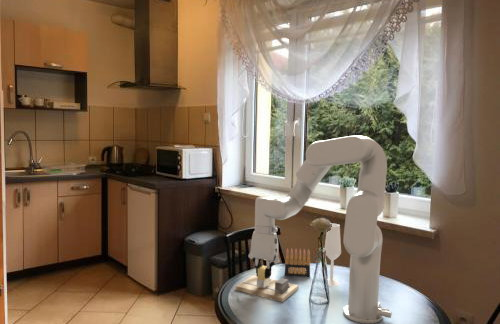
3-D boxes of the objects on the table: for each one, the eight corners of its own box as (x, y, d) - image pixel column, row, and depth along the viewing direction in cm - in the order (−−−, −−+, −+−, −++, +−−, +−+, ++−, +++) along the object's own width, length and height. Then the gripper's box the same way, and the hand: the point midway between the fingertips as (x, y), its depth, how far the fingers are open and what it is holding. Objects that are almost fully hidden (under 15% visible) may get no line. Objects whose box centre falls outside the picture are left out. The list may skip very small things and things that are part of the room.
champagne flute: (336, 279, 164) (338, 222, 162) (342, 286, 157) (344, 226, 155) (320, 280, 163) (322, 223, 161) (326, 286, 156) (328, 227, 154)
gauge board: (298, 288, 153) (298, 275, 153) (282, 301, 141) (283, 286, 140) (253, 278, 163) (253, 265, 162) (235, 289, 151) (235, 275, 150)
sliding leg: (273, 281, 155) (274, 264, 154) (263, 288, 147) (264, 270, 147) (266, 280, 156) (267, 262, 156) (256, 287, 149) (257, 268, 148)
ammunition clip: (309, 275, 168) (310, 248, 167) (310, 277, 166) (310, 249, 165) (284, 274, 169) (285, 246, 168) (284, 276, 167) (285, 248, 166)
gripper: (288, 230, 148) (287, 277, 149) (250, 224, 156) (249, 269, 157) (279, 234, 141) (278, 284, 143) (240, 228, 150) (240, 275, 151)
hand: (263, 276), depth 150 cm, fingers closed on sliding leg, 3 cm apart
